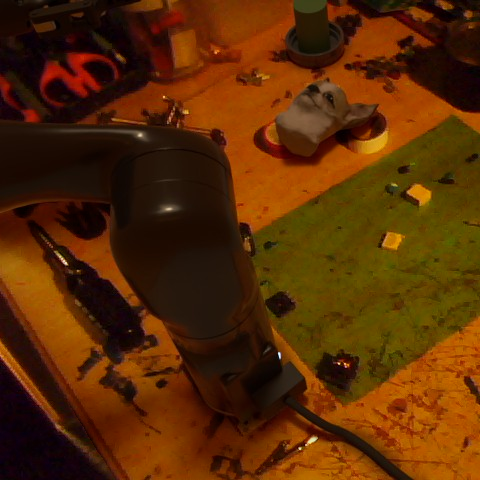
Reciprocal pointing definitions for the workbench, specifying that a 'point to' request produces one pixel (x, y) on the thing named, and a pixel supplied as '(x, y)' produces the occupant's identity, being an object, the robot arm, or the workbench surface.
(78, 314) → the workbench surface
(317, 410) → the workbench surface
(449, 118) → the workbench surface
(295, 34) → the dark grey jar lid
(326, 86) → the ceramic sculpture
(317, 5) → the green can
